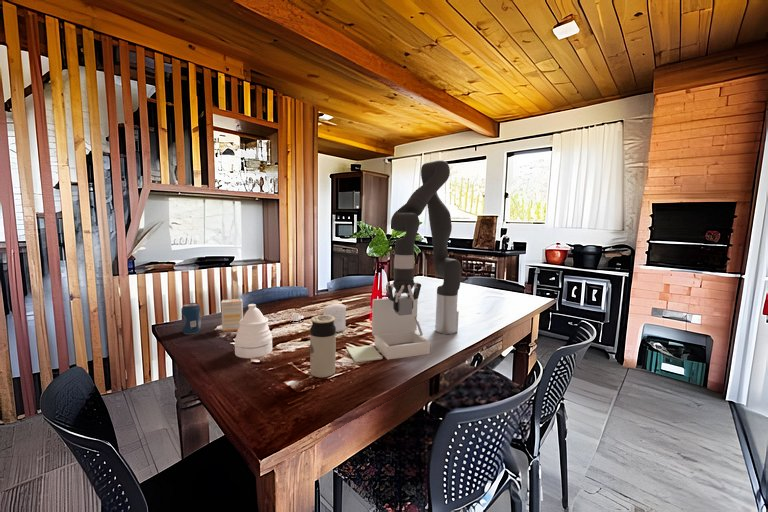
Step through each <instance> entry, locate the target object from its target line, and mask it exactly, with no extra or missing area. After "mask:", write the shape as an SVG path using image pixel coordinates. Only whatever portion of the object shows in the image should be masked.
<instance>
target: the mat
mask: <svg viewBox="0 0 768 512" xmlns="http://www.w3.org/2000/svg"><path fill="white" fill-rule="evenodd" d="M346 350H347V352H348V353H349V354H348V355H350V357H351V359H353V361H354V363H362V362H363V363H364V362H369V361H378V360H383V355H381V354H380V352H379V351H377V348H376V347H375V346H373V345H364V346H363V345H362V346H354V347H347V348H346Z"/></svg>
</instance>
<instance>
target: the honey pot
mask: <svg viewBox="0 0 768 512" xmlns="http://www.w3.org/2000/svg"><path fill="white" fill-rule="evenodd" d="M247 308H248V309H247V310H246V312H245V313H244V314H243V319H241V320H240V321H239V324H240V327H239V329H238V330H237V332H236V336H235V338H234V354H235V356H236V357H238V358H240V359H241V358H242V359H253V358H254V359H257V358H260V357H264V356H266V355H268V354H270V353H271V352H272V351H273V334H272V333H271V330H270V326H269V325H268V322H269V319H268V317H266V316H264V315H263V313H262V312H261V310H260V309H259V308H257V304H255V303H250V304H248V305H247Z"/></svg>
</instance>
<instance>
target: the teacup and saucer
mask: <svg viewBox="0 0 768 512" xmlns="http://www.w3.org/2000/svg"><path fill="white" fill-rule="evenodd" d="M304 317H305V316H304V315H301V314H300V312H293V313H292V315H291V319H292V320H291V321H293V322H294V321H298V322H299V321H301V319H304Z"/></svg>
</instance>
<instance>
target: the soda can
mask: <svg viewBox="0 0 768 512" xmlns="http://www.w3.org/2000/svg"><path fill="white" fill-rule="evenodd" d="M201 329H202V317H201V306H200V305H199V303H198V302H189V303H187V302H186V303H184V304H183V305H182V307H181V331H182V332H183V334H184V335H194V334H198V333H199V332H200V331H201Z"/></svg>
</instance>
